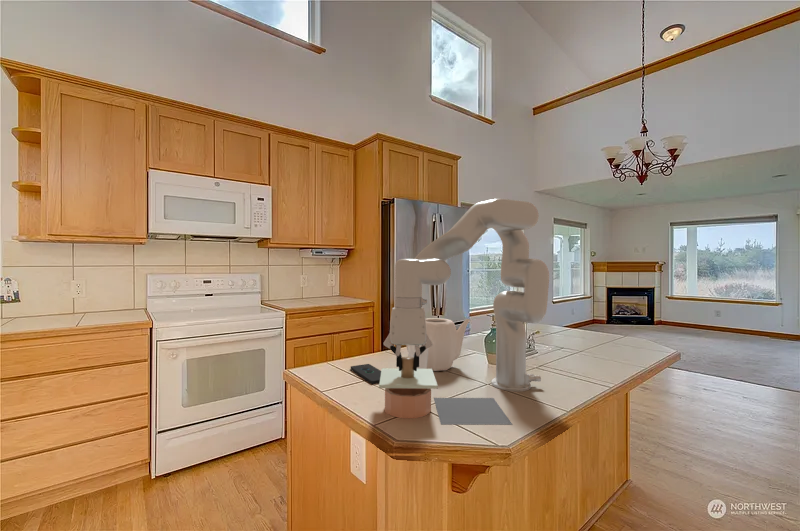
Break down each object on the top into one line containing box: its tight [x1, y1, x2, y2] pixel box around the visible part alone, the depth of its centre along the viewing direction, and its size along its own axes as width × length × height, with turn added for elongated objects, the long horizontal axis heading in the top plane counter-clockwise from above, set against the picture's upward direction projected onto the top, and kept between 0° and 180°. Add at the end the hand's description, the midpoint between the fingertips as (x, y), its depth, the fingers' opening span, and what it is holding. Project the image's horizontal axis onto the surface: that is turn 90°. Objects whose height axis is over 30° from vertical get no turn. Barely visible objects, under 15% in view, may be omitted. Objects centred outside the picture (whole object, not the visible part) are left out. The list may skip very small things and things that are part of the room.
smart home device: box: [350, 363, 381, 385], centre depth 131 cm, size 8×2×20 cm
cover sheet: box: [378, 356, 439, 390], centre depth 99 cm, size 15×15×6 cm
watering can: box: [405, 317, 471, 372], centre depth 141 cm, size 16×27×19 cm, turn 105°
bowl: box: [384, 388, 432, 419], centre depth 100 cm, size 13×13×6 cm
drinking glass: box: [407, 344, 428, 369], centre depth 120 cm, size 7×7×15 cm
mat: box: [433, 397, 513, 426], centre depth 99 cm, size 18×18×1 cm
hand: (407, 368), depth 99 cm, fingers closed on cover sheet, 3 cm apart
